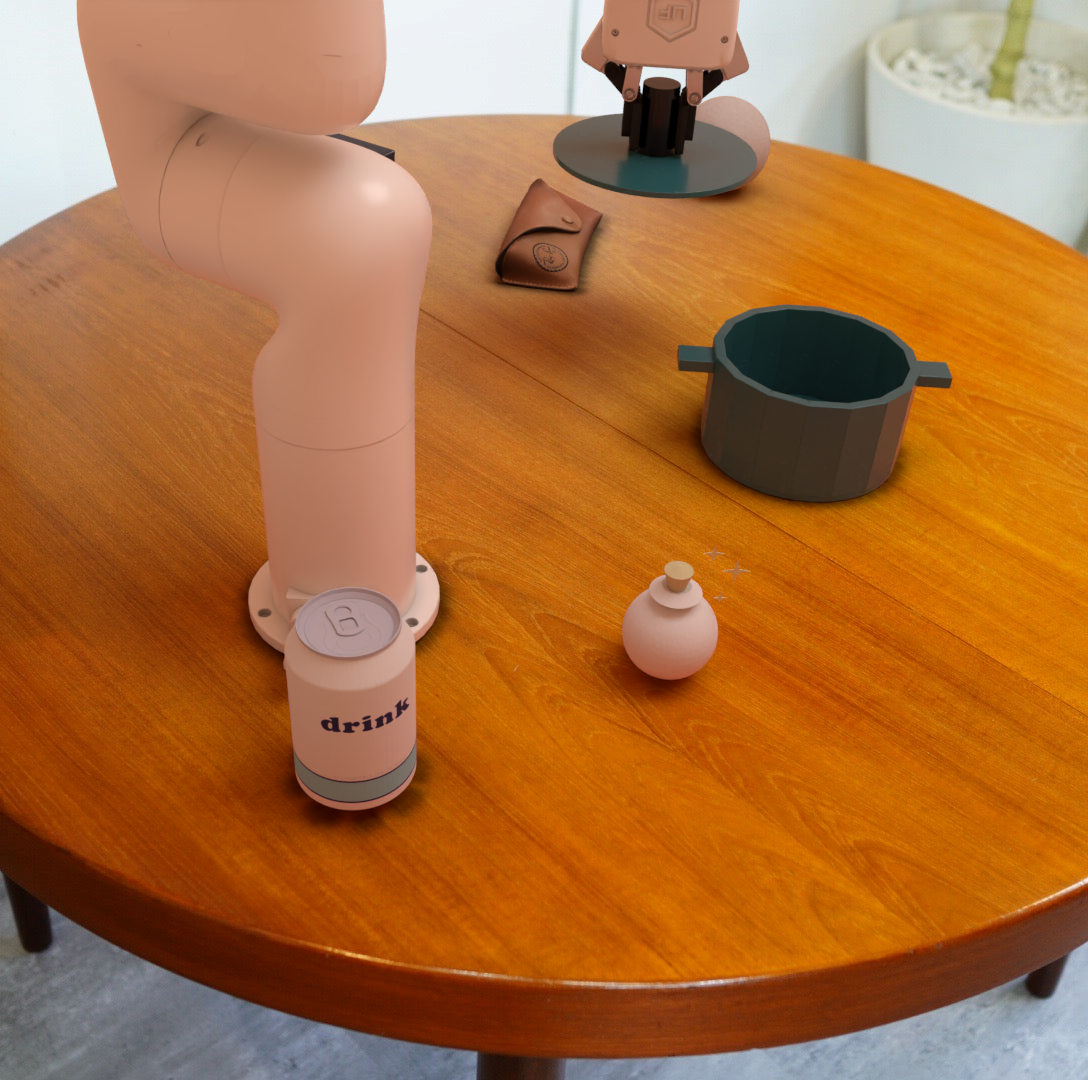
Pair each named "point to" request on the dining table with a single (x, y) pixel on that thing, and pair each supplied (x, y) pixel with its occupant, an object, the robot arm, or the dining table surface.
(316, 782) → the beverage can
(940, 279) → the dining table surface
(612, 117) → the lid
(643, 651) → the potion bottle
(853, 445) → the pot
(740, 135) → the ball
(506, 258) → the sunglasses case
